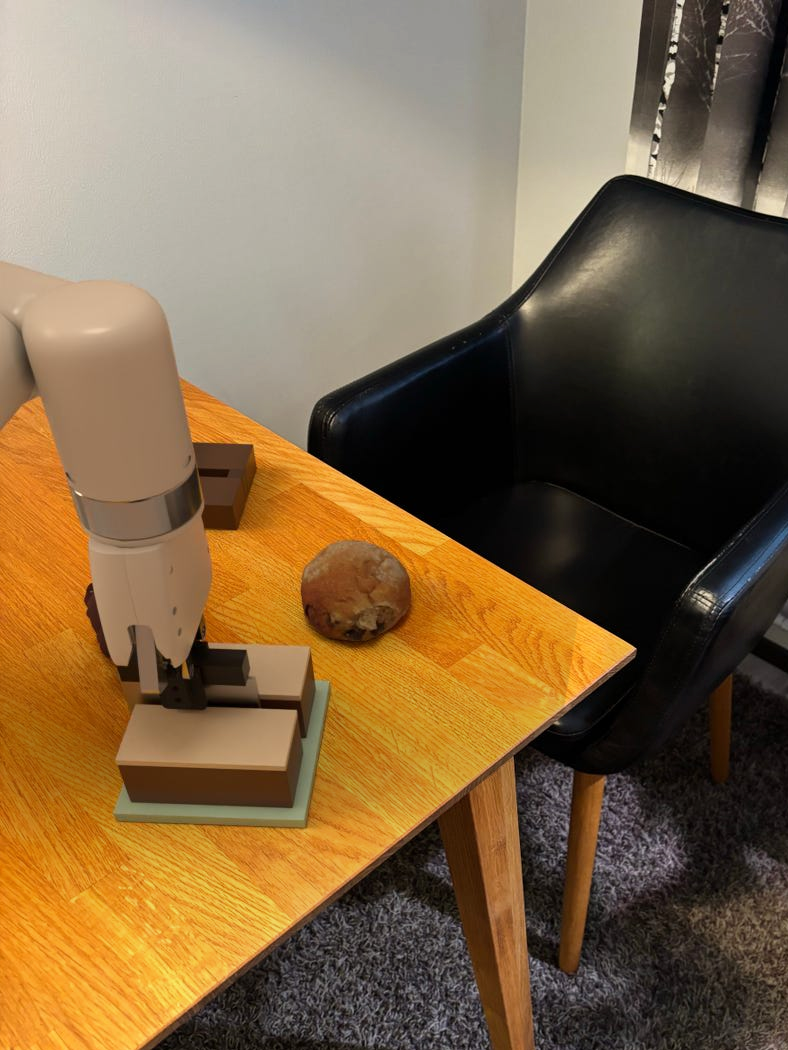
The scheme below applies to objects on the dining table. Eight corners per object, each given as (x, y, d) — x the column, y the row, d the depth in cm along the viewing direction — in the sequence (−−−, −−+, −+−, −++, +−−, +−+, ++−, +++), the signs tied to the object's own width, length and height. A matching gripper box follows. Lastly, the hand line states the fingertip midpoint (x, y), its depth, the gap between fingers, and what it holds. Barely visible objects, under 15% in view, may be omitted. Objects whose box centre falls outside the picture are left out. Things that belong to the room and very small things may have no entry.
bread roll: (418, 619, 95) (425, 538, 93) (393, 655, 86) (400, 565, 83) (317, 605, 96) (321, 524, 94) (282, 638, 87) (285, 549, 84)
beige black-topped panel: (136, 747, 77) (107, 662, 71) (142, 730, 79) (115, 644, 72) (265, 752, 77) (248, 667, 71) (269, 734, 79) (253, 649, 72)
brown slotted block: (95, 525, 99) (87, 500, 96) (125, 463, 106) (118, 439, 104) (237, 530, 99) (232, 505, 96) (257, 468, 106) (253, 444, 104)
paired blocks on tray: (116, 821, 74) (96, 770, 70) (163, 682, 84) (148, 631, 80) (305, 828, 74) (297, 778, 70) (330, 688, 84) (324, 637, 80)
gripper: (113, 418, 67) (166, 618, 80) (32, 572, 56) (108, 776, 69) (225, 422, 67) (260, 622, 80) (166, 577, 56) (217, 781, 69)
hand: (189, 692), depth 74 cm, fingers closed on beige black-topped panel, 1 cm apart
